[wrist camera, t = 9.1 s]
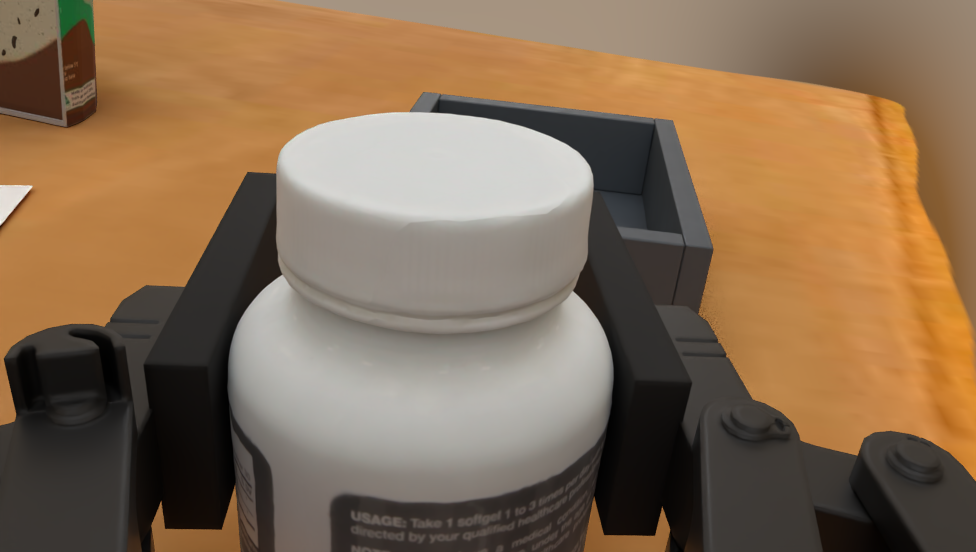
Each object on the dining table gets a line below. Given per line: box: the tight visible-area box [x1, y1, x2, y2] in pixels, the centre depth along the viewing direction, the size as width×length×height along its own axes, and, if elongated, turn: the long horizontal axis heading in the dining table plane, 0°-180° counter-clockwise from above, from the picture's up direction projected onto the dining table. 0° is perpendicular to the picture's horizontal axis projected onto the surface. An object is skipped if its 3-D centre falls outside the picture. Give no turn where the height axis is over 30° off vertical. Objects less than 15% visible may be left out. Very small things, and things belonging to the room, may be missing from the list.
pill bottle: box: [227, 112, 614, 552], centre depth 12 cm, size 5×5×10 cm
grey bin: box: [410, 92, 713, 314], centre depth 30 cm, size 11×13×4 cm
